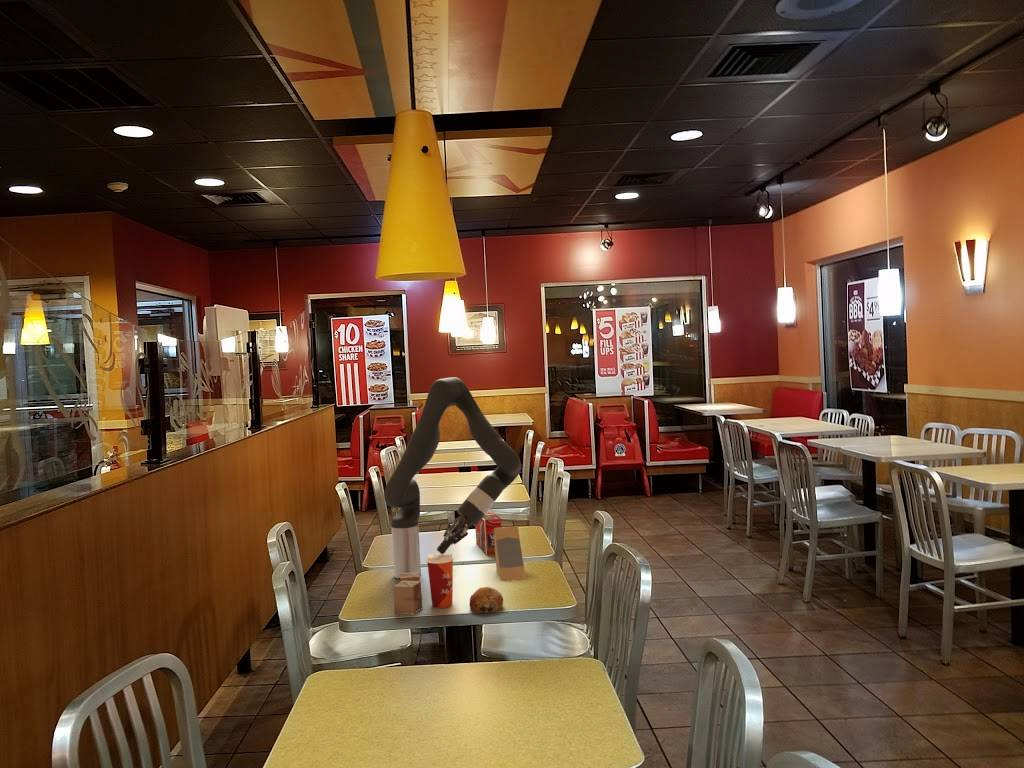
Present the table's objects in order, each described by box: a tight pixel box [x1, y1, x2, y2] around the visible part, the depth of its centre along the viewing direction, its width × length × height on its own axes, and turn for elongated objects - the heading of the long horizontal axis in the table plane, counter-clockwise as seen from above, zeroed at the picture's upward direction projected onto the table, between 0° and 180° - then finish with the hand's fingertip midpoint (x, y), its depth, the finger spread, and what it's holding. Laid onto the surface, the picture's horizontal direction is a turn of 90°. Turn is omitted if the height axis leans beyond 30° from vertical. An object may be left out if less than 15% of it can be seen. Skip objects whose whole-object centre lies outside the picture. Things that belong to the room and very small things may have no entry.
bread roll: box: [469, 586, 504, 614], centre depth 240 cm, size 10×10×8 cm
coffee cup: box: [426, 552, 455, 609], centre depth 245 cm, size 8×8×15 cm
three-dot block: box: [393, 580, 423, 614], centre depth 242 cm, size 6×6×8 cm
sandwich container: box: [494, 525, 527, 582], centre depth 276 cm, size 9×15×15 cm, turn 7°
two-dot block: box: [399, 572, 421, 583], centre depth 252 cm, size 6×6×8 cm
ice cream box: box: [474, 509, 502, 556], centre depth 316 cm, size 20×6×13 cm, turn 13°
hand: (439, 552), depth 245 cm, fingers closed
